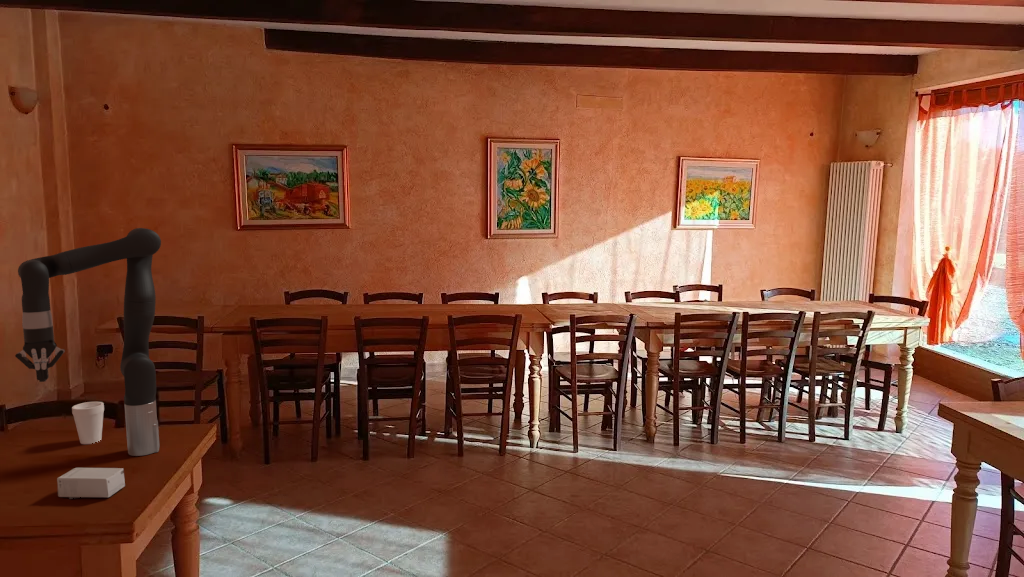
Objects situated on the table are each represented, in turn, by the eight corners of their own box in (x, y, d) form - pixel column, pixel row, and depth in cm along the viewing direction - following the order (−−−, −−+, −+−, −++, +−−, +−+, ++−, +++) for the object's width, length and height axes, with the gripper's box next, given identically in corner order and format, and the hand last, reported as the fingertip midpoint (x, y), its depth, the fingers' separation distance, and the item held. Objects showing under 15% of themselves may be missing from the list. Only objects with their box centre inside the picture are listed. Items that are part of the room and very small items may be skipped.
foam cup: (72, 440, 241) (69, 405, 239) (102, 434, 247) (99, 400, 245) (78, 447, 234) (75, 411, 232) (109, 441, 240) (106, 405, 238)
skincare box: (57, 497, 193) (107, 499, 192) (55, 476, 192) (105, 479, 191) (78, 484, 201) (126, 487, 200) (77, 465, 201) (125, 467, 200)
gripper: (66, 322, 213) (70, 376, 215) (15, 325, 208) (20, 380, 210) (61, 326, 206) (65, 381, 209) (8, 329, 201) (13, 386, 203)
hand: (42, 381), depth 209 cm, fingers closed
